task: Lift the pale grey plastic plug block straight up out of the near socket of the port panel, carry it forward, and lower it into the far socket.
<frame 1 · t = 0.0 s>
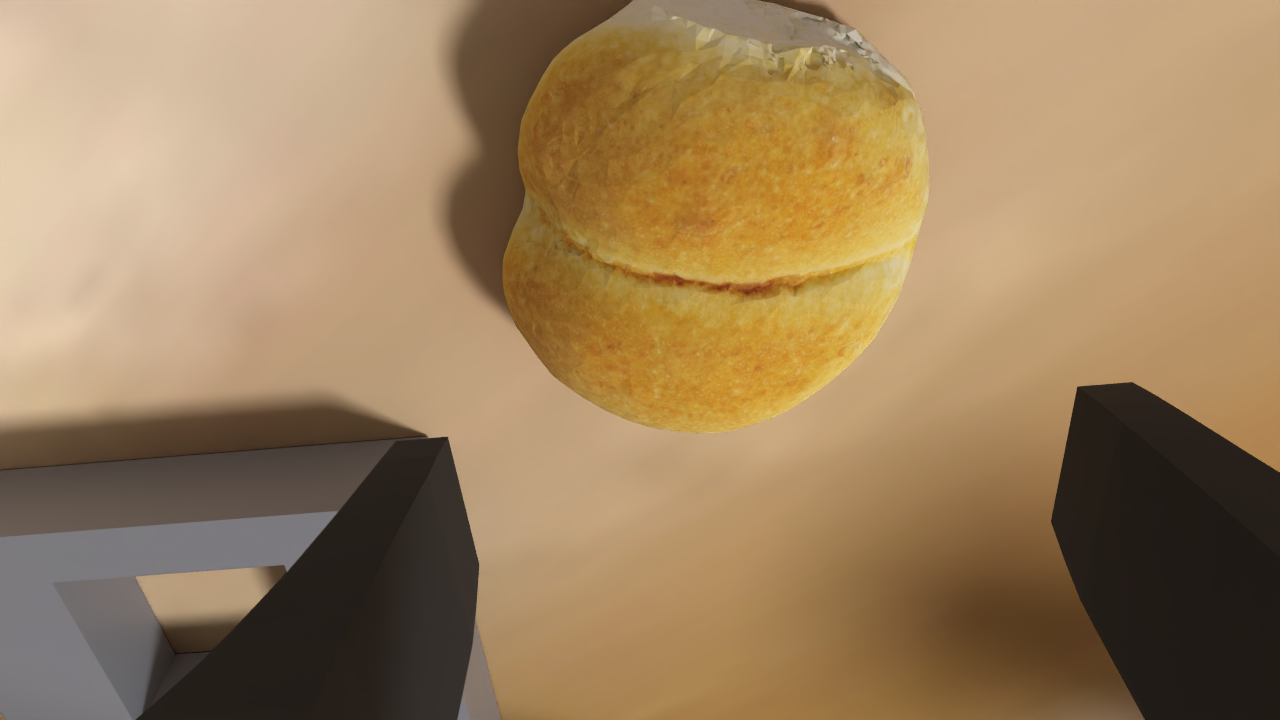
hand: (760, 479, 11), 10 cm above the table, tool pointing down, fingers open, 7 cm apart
port panel: (280, 670, 28), on the table
bread roll: (702, 193, 21), on the table
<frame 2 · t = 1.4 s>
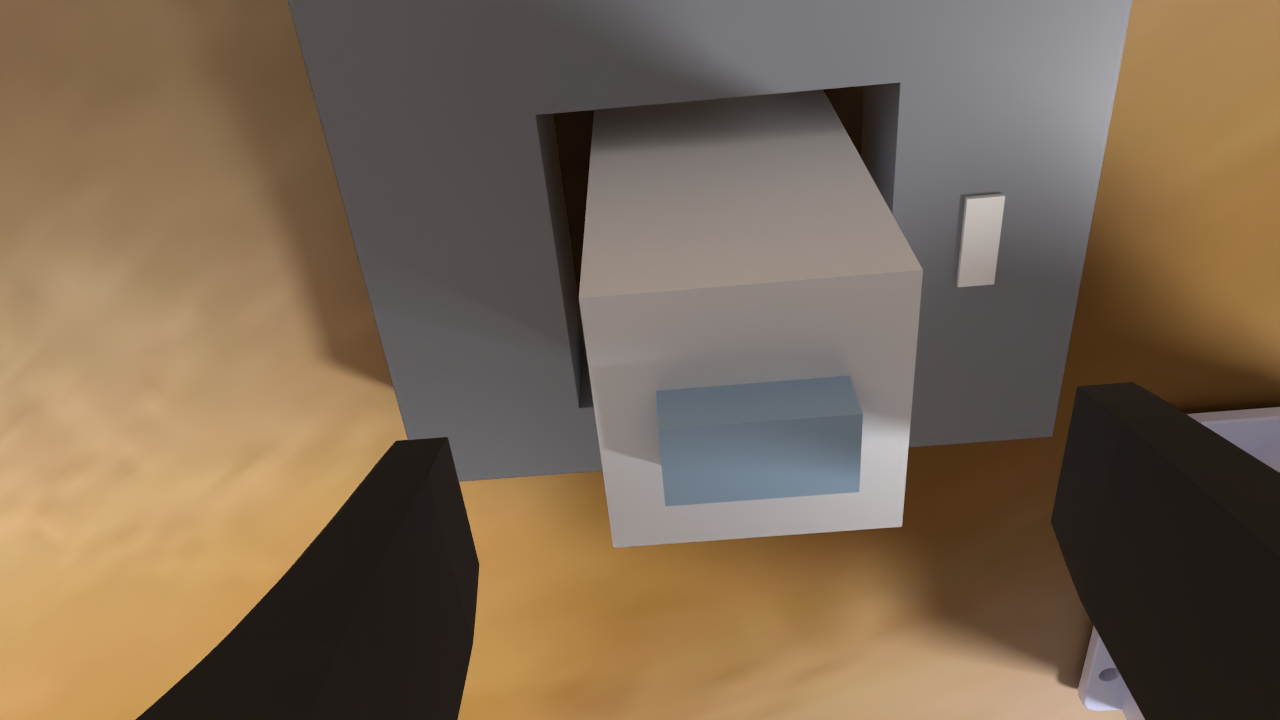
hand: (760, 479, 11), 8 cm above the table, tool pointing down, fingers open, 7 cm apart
plug: (712, 199, 18), resting in port panel
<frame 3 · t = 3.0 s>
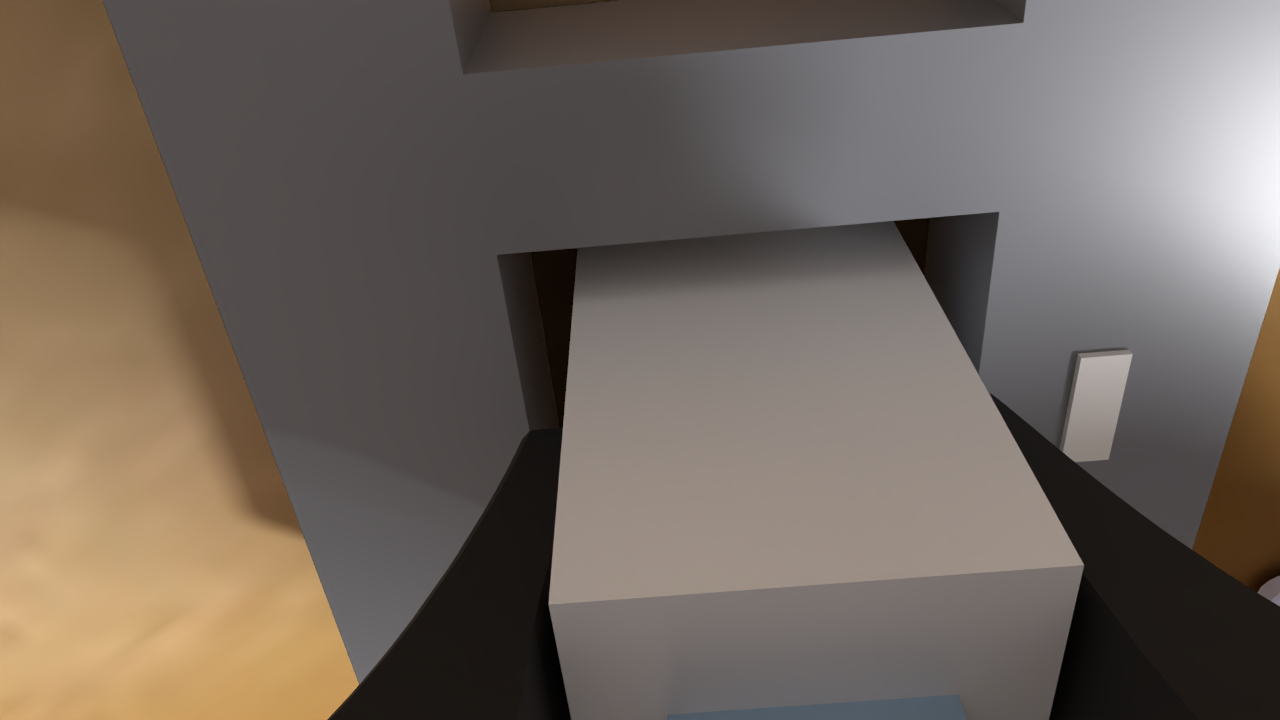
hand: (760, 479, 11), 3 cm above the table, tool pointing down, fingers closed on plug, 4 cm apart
plug: (732, 327, 14), resting in port panel, touching gripper
port panel: (722, 74, 12), on the table
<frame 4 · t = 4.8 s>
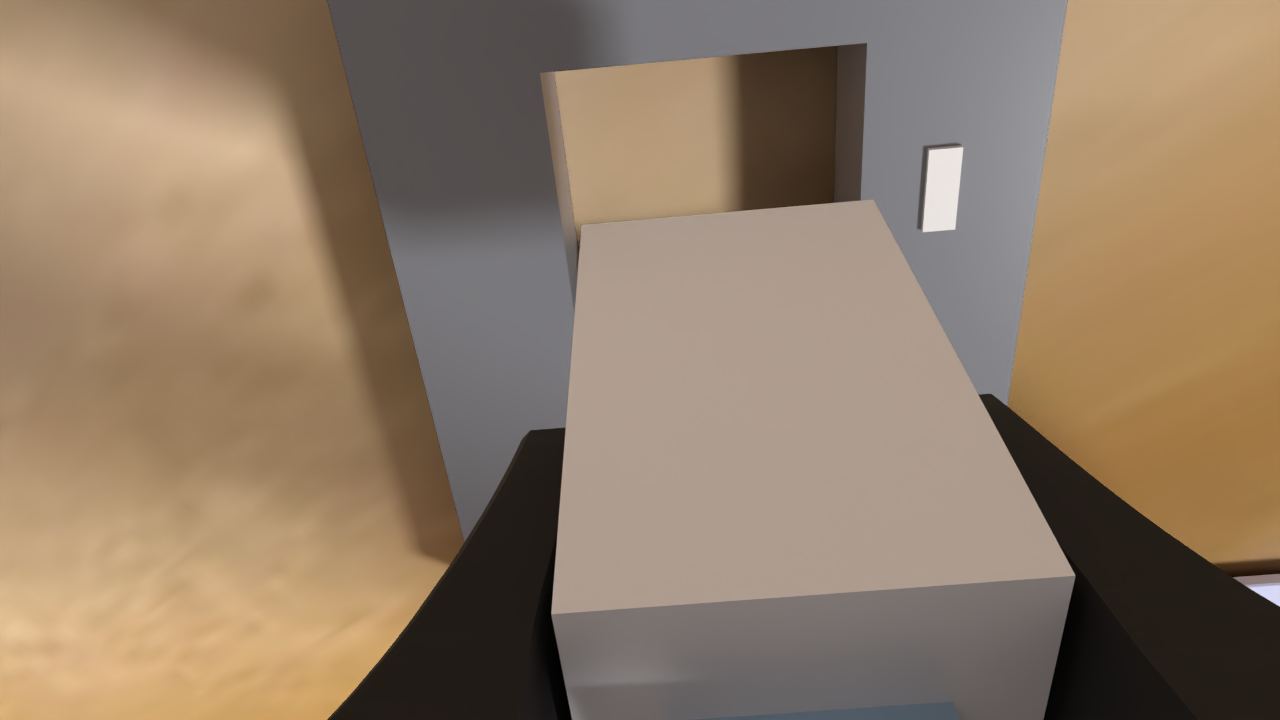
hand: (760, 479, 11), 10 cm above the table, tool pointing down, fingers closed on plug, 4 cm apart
plug: (731, 335, 14), point 7 cm above the table, touching gripper
port panel: (709, 315, 22), on the table
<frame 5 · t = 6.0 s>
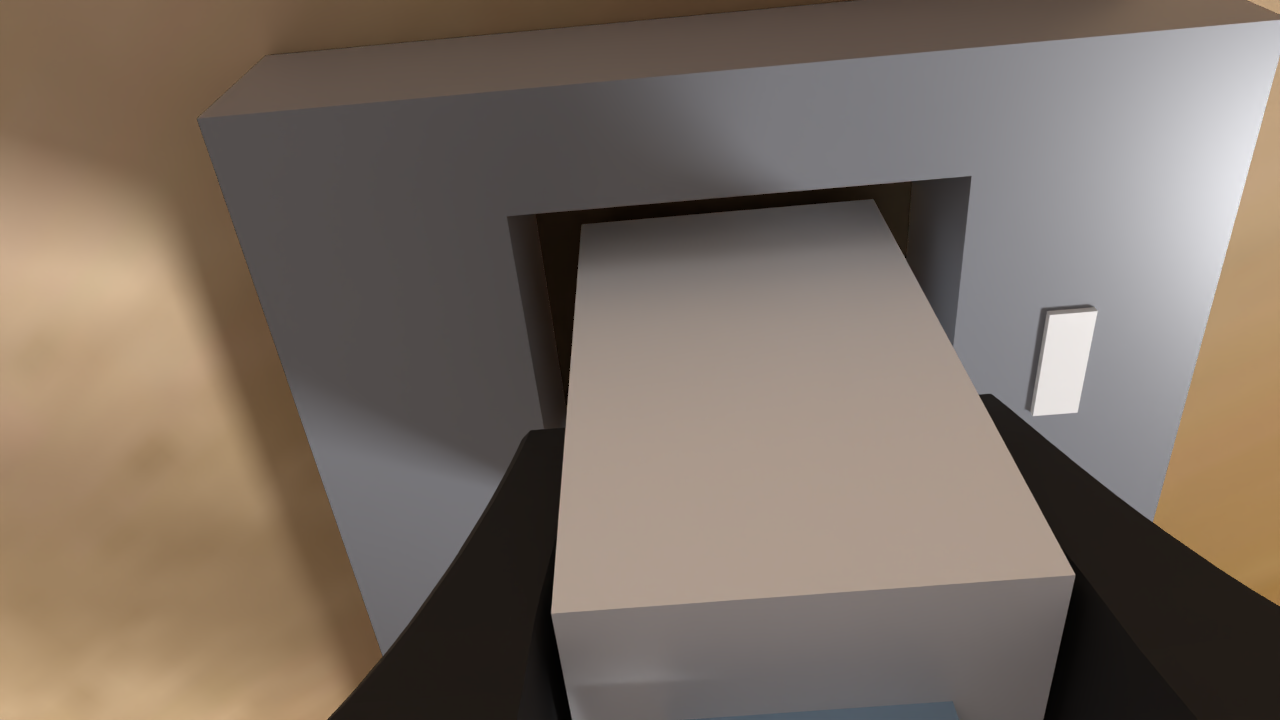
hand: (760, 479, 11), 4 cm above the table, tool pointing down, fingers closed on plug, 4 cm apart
plug: (731, 335, 14), point 1 cm above the table, touching gripper
port panel: (734, 480, 17), on the table
when the fingers open (4 cm above the table, at t = 6.9 s): plug stays where it is, resting in port panel.
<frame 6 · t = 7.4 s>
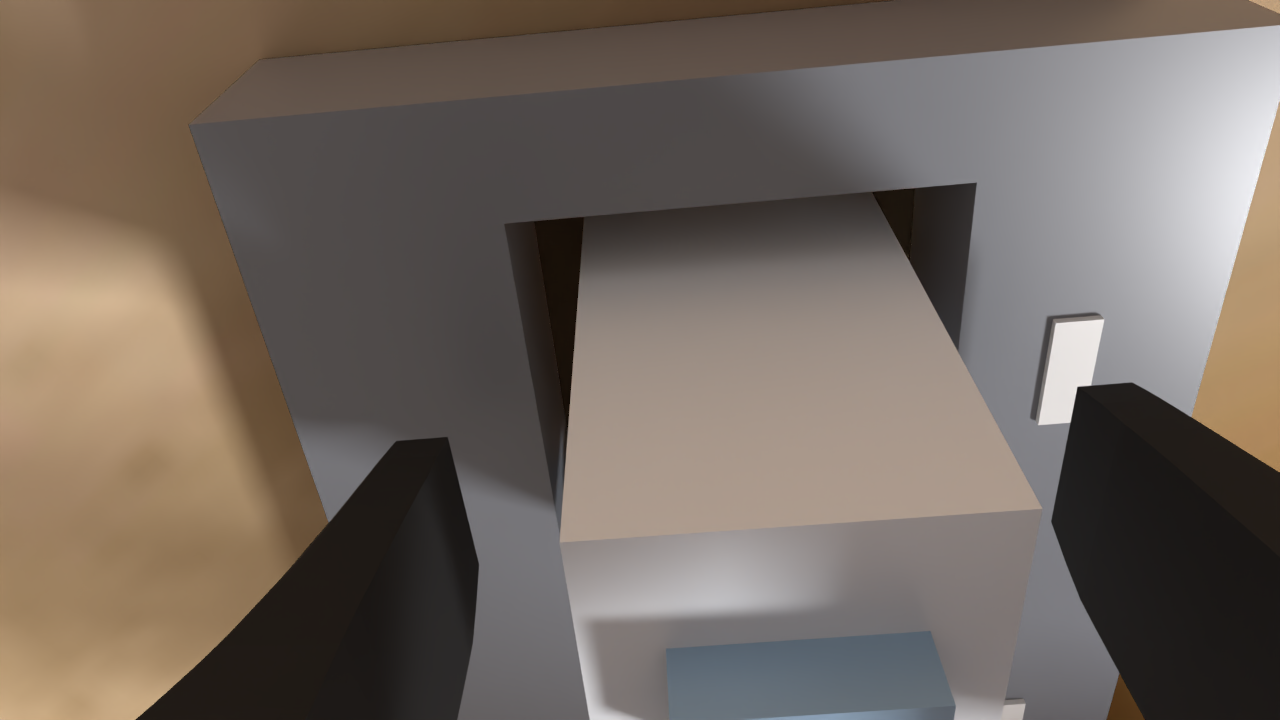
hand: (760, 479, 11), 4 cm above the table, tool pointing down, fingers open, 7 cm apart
plug: (728, 309, 15), resting in port panel
port panel: (735, 487, 17), on the table
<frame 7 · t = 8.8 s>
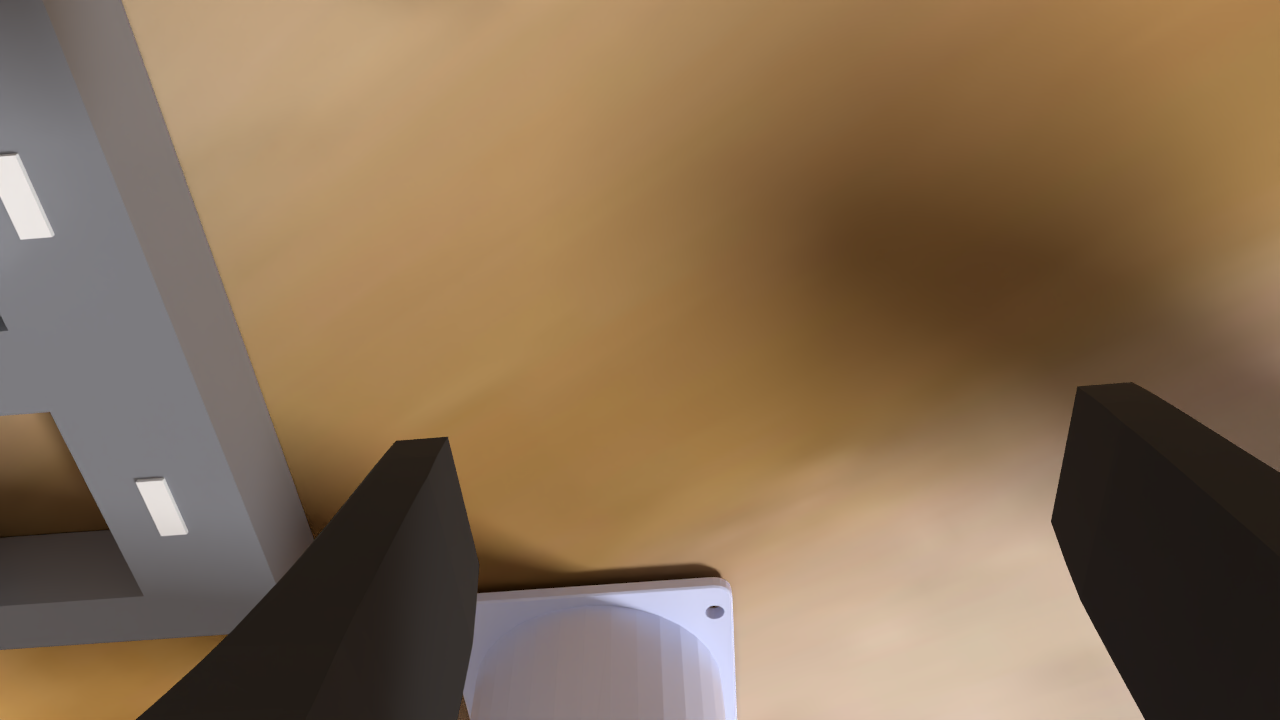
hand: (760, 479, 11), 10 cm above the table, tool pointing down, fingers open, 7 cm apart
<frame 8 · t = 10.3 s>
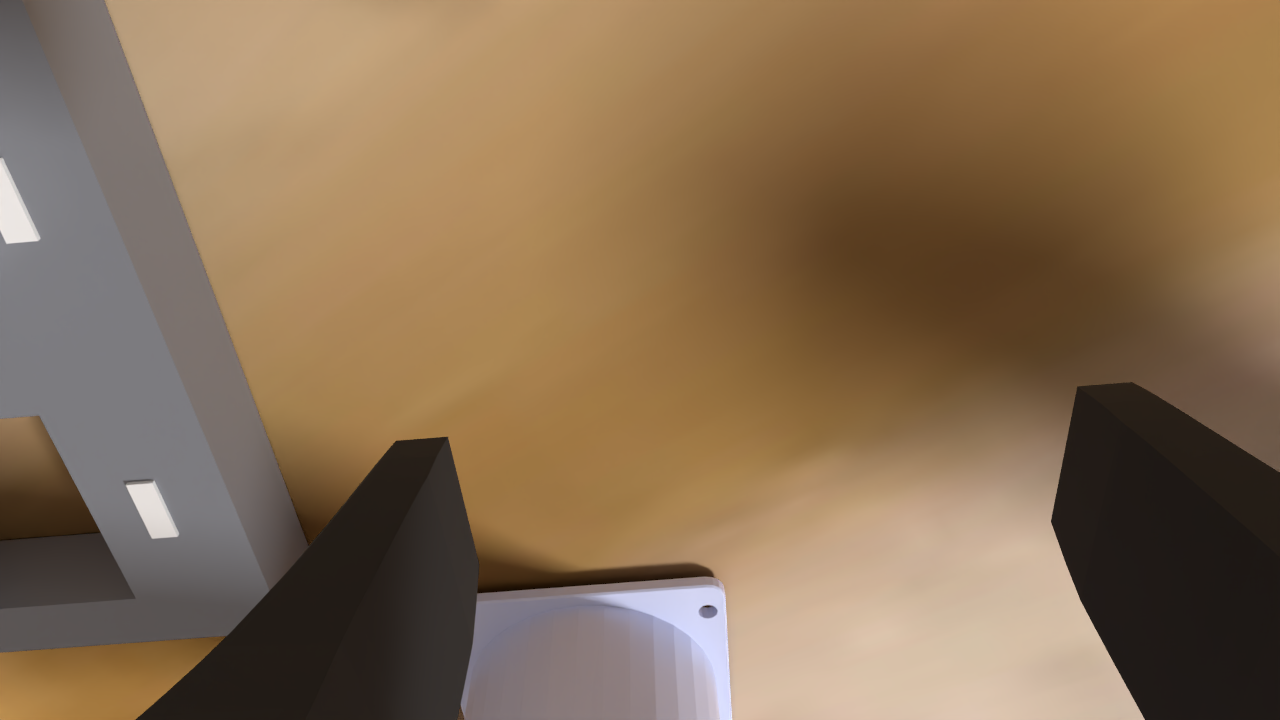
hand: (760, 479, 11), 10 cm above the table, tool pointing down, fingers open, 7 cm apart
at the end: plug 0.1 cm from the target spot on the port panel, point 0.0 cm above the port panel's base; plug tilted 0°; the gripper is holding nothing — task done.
